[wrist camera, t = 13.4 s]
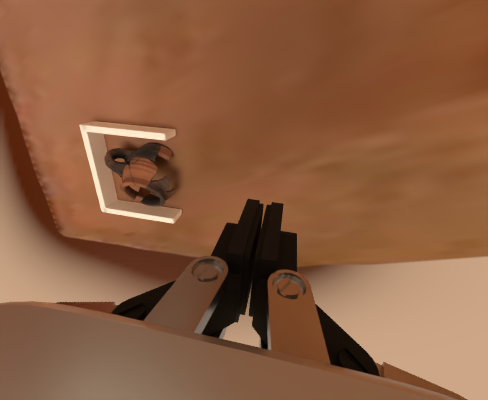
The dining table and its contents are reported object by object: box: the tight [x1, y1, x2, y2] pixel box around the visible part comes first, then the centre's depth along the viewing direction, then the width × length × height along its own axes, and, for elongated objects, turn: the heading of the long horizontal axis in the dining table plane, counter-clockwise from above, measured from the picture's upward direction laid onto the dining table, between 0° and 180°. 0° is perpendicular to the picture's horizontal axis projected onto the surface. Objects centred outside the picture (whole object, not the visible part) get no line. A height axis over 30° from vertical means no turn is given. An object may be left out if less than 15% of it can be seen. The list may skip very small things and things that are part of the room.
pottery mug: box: [104, 143, 176, 207], centre depth 41 cm, size 12×10×8 cm
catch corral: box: [80, 121, 182, 224], centre depth 42 cm, size 16×14×4 cm
